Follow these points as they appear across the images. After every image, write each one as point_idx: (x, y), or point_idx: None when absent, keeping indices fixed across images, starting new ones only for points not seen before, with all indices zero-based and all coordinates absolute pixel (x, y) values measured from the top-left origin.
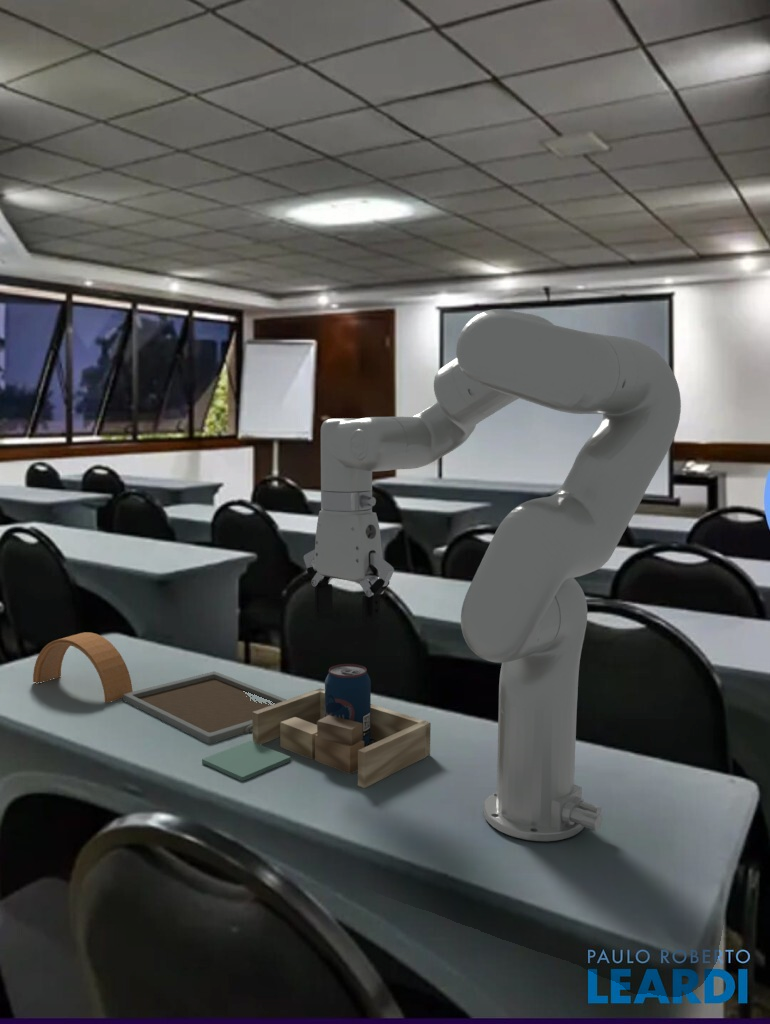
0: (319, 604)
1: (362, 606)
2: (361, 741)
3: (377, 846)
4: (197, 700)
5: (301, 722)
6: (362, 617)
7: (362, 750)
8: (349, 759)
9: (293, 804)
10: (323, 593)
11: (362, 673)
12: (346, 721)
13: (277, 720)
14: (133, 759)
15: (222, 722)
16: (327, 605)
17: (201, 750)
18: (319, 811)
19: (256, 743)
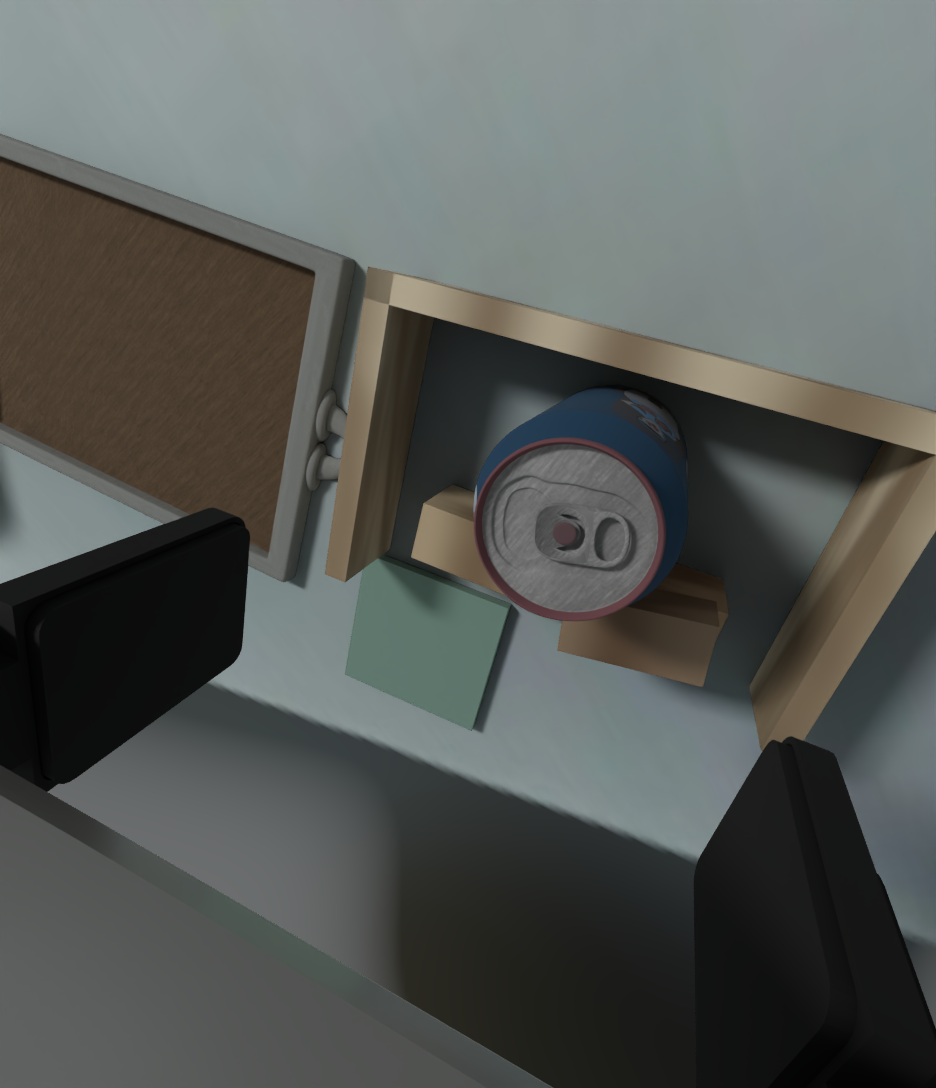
0: (194, 689)
1: (696, 1018)
2: (719, 617)
3: (906, 925)
4: (83, 344)
5: (465, 538)
6: (694, 903)
7: None
8: None
9: (634, 794)
10: (114, 700)
11: (660, 563)
12: (653, 628)
13: (377, 498)
14: (237, 686)
15: (231, 455)
16: (215, 594)
17: (305, 613)
18: (706, 813)
19: (388, 562)
